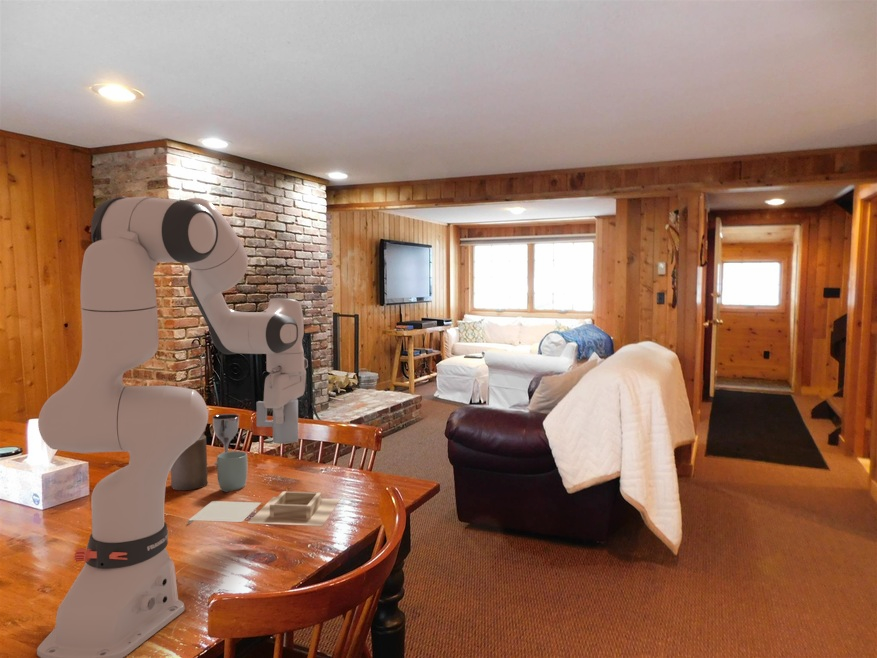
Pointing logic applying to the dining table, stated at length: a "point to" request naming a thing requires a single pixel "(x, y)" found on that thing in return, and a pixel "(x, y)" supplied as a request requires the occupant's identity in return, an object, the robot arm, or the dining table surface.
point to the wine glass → (225, 428)
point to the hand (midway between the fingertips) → (285, 420)
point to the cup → (232, 470)
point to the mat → (225, 511)
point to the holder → (296, 509)
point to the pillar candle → (191, 467)
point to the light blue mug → (286, 430)
